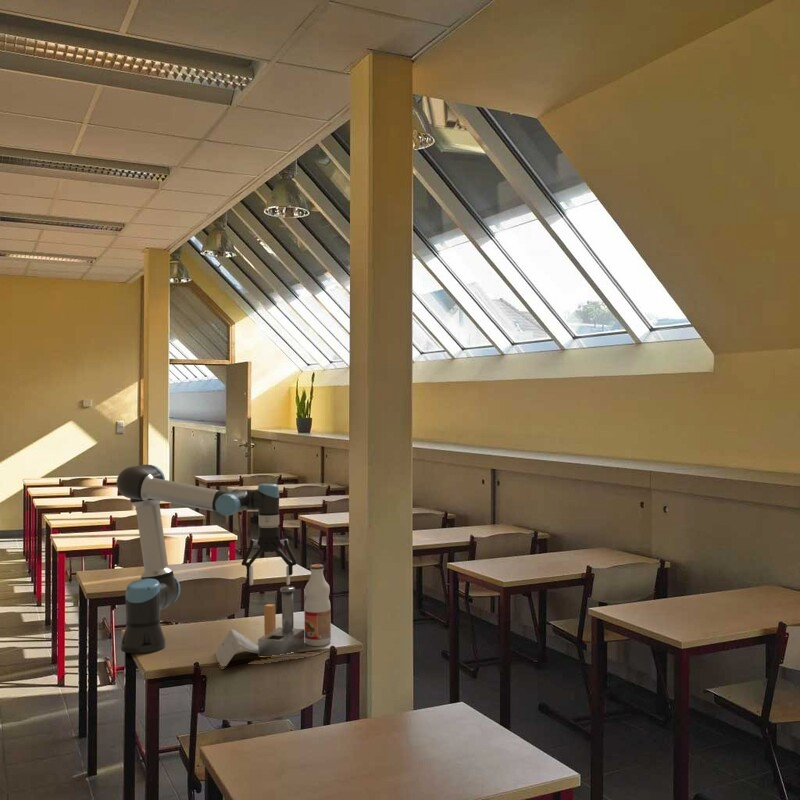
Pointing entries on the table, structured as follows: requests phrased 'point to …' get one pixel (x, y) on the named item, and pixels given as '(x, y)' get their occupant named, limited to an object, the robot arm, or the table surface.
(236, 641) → the bracket
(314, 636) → the fruit juice
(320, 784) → the table surface
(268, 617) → the tan wooden beam
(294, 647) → the grey post stand
